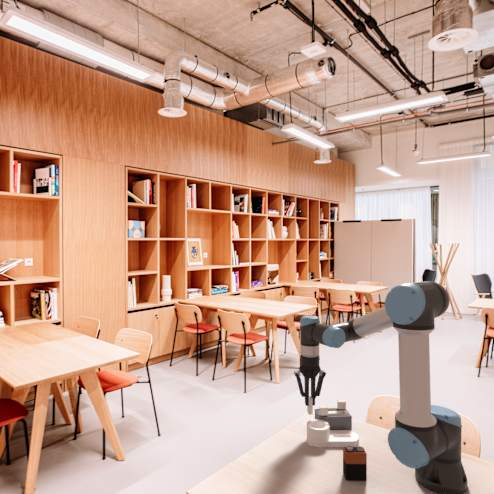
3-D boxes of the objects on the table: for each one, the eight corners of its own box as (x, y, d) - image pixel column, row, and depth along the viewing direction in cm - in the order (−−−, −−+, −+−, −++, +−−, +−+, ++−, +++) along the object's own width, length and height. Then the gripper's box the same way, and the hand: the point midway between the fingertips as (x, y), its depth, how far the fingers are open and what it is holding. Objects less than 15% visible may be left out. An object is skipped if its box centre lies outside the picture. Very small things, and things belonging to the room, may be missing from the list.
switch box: (351, 433, 155) (351, 415, 155) (319, 434, 154) (319, 417, 154) (345, 424, 163) (345, 407, 163) (314, 425, 162) (314, 408, 162)
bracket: (308, 447, 145) (308, 430, 145) (305, 436, 154) (305, 419, 154) (361, 447, 145) (361, 429, 145) (355, 435, 154) (355, 419, 154)
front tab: (328, 415, 155) (328, 407, 155) (320, 415, 155) (320, 408, 155) (326, 413, 157) (326, 405, 157) (319, 413, 157) (319, 406, 157)
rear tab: (345, 409, 161) (345, 401, 161) (338, 409, 160) (338, 402, 160) (344, 406, 163) (344, 399, 163) (337, 407, 162) (337, 400, 162)
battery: (342, 473, 129) (342, 443, 129) (363, 473, 129) (363, 443, 129) (345, 481, 125) (345, 450, 124) (366, 481, 124) (366, 450, 124)
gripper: (323, 351, 159) (323, 408, 160) (291, 352, 158) (292, 409, 158) (328, 357, 152) (328, 416, 152) (295, 358, 151) (295, 418, 151)
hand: (310, 413), depth 155 cm, fingers closed
